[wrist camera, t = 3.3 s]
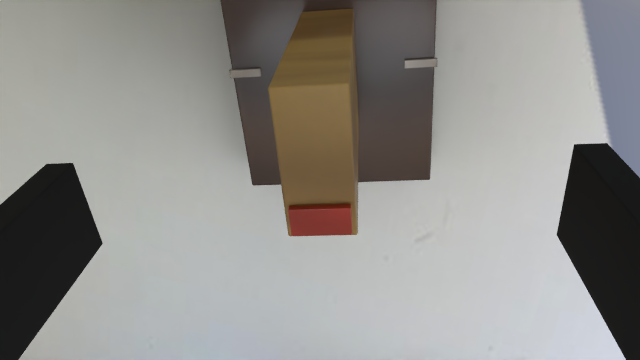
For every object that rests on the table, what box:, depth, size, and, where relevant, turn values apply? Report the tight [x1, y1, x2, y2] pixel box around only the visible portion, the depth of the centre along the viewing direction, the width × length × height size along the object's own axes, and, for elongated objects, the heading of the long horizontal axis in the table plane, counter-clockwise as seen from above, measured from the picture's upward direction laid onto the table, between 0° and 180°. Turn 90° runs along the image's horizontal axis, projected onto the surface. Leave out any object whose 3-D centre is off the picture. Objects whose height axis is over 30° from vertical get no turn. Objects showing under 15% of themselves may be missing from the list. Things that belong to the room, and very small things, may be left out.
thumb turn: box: [268, 9, 359, 236], centre depth 18 cm, size 5×2×9 cm, turn 5°
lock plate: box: [221, 0, 437, 185], centre depth 23 cm, size 12×9×2 cm
